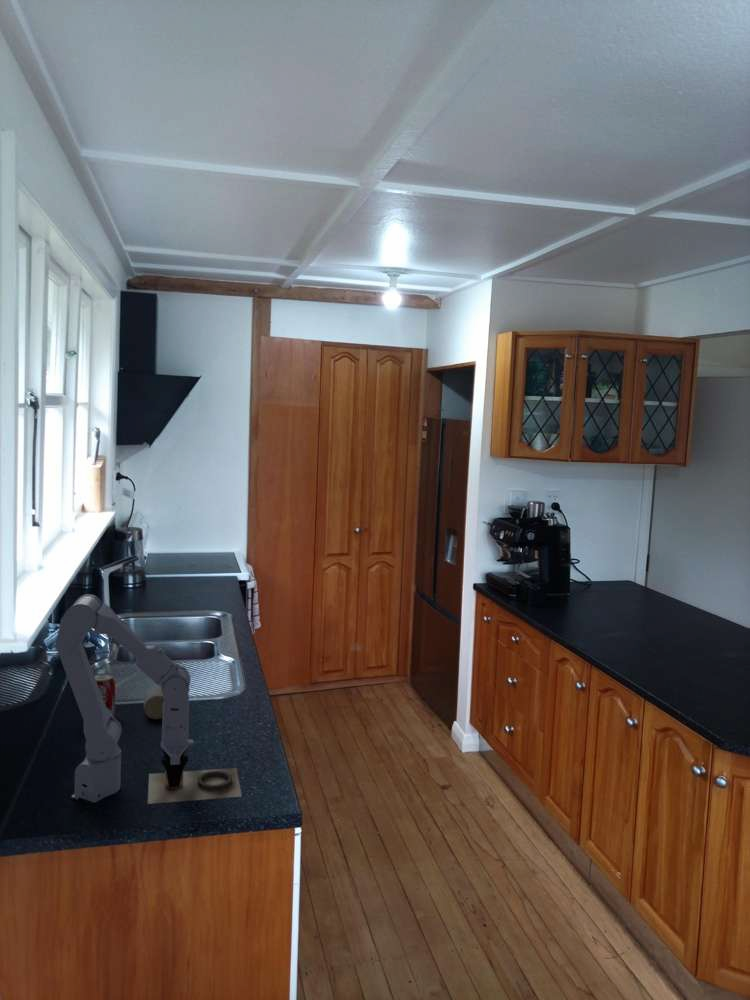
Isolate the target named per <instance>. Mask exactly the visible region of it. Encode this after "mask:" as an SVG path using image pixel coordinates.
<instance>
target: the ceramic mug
mask: <svg viewBox="0 0 750 1000" xmlns="http://www.w3.org/2000/svg"><path fill="white" fill-rule="evenodd" d="M161 688H162V687H161V686H159V685H157V684H153V685H151V686H150V687H148V689H147V690H146V691H145V692H144V697H143V710H144V713H145V714H146V716H147V717H148V718H150V719H152V720H161V719H162V715H163V703H164V696H163V694H162V692H161Z"/></svg>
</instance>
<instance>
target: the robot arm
mask: <svg viewBox="0 0 750 1000" xmlns="http://www.w3.org/2000/svg"><path fill="white" fill-rule="evenodd" d="M92 629H94V630H93V631H92V635H108V636H109V637H110V638H111V639H113V640H114V641H115V642H116V643H118V644H119V645H120V646H121V647H123V648H124V649H125V650H126V651H128V652H129V653H130V654H131V655H132V656H134V657H135V666H136V667H137V668H138V669H139V670H141V672H142V673H143V674H145V675H146V676H147V677H148V678H149V679H150V680H152V682H154V683H155V685H159V686H161V687H162V688H161V692H162V694H163V696H164V703H163V715H162V720H161V723H162V725H161V742H160V747H161V751H162V753H163V754H164V755H162V756H161V763H162V765H163V768H164V769H166V772H167V778H168V784H169V787H178V786H179V784H180V781H181V776H182V772H184V770H183V769H185V766H186V764H188V760H189V756H188V755H185V753H186V751H187V749H188V747H193V746H194V739H191V738H190V739H189V727H190V726H189V725H190V724H189V723H190V702H189V700H190V694H189V692H190V685H191V675H190V672H189V671H188V670H187V668H186V667H184V666H181V665H180V664H179V663H174V661H172V660H171V659H170V658H169V657H168V656H167V655H166V654H165V652H166V650H165V649H164V648H163V647H160V648H158V647H157V646H156V645H147V644H146V643H144V641H143V640H141V638H140V637H139V636H138V635H137V634H136V633H135V632H134V631H133V630H132V629H131V628H130V627H129V626H128V625H127V624H126V623H125V622H124V621H123V620H122V619H121V618H120V617H119V616H118V615H117V614H116V613H115V611H114V610H113V609H112V608H111V607H110V606H109V605H108V604H106V603H103V601H102V600H101V599H100V598H99V597H98V596H96V595H94V594H83V595H80V596H79V597H78V598H77V599H76V600H75V601H74V603H73V604H72V605H71V606H70V607H69V608H68V609H67V610H66V612H65V613H63V616H62V617H61V618H60V625H59V629H58V632H57V636H56V640H55V649H56V651H57V654H58V655H59V659H60V661H61V664H62V667H63V669H64V672H65V675H66V677H67V680H68V683H69V686H70V688H71V690H72V692H73V693H72V694H73V697H74V698H75V701H76V704H77V706H78V709H79V712H80V714H81V717H82V721H83V734H84V737H85V745H84V749H85V750H84V751H85V753H86V754H85V758H84V760H83V761H82V762H81V763H79V765H77V766H76V768H75V770H74V793H73V794H72V795H71V799H73V798H75V799H74V800H76V799H77V801H78V800H79V799H83V800H85V801H89V802H91V803H94V804H95V803H97V802H100V800H103V799H104V798H106V797H108V796H111V795H114V794H116V793H117V792H119V791H120V789H121V779H122V777H121V768H122V767H121V766H122V762H121V761H122V749H121V747H120V746H119V744H118V742H119V741H120V738H121V736H122V733H123V728H122V725H121V723H120V721H118V720H117V719H116V718H115V716H114V717H113V715H112V713H111V711H110V710H109V709H108V708H107V707H106V706H105V703H104V700H103V698H102V695H101V692H100V690H99V687H98V684H97V682H96V679H95V676H94V675H95V674H94V671H93V669H92V665H91V664H90V661H89V658H88V655H87V652H86V650H85V647H84V645H83V641H84V639H85V638H86V635H88V633H89V632H90V631H91V630H92Z"/></svg>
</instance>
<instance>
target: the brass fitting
mask: <svg viewBox="0 0 750 1000" xmlns="http://www.w3.org/2000/svg"><path fill="white" fill-rule="evenodd" d="M164 769H165V768H164ZM184 769H185V768H184ZM184 769H183V772H184V771H185V770H184ZM183 772H182V776H181V781H180V784H179V786H178V787H169V784H168V778H167V772H166V769H165V770H164V773H165V789H167V790H170V791H176V790H179V789H181V788H182V787H183Z"/></svg>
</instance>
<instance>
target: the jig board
mask: <svg viewBox="0 0 750 1000" xmlns="http://www.w3.org/2000/svg"><path fill="white" fill-rule="evenodd" d="M242 796H243V795H242V790H241V785H240V779H239V774H238V768H237V767H230V768H219V769H218V768H215V769H203V770H202V769H201V770H190V771H189V770H188V771H187V770H184V771H183V787H182V788H181V789H179V790H176V791H170V790H167V789H165V772H160V773H159V772H158V773H148V791H147V805H153V804H166V803H177V802H178V803H179V802H180V803H181V802H190V801H191V802H193V801H203V800H204V801H205V800H216V799H217V800H218V799H229V798H230V799H231V798H242Z"/></svg>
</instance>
